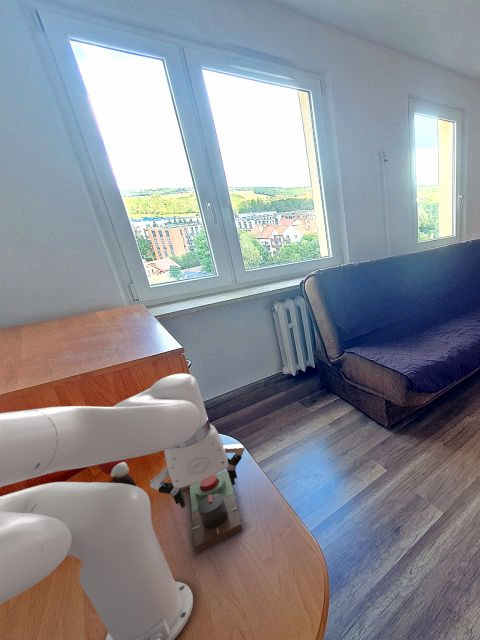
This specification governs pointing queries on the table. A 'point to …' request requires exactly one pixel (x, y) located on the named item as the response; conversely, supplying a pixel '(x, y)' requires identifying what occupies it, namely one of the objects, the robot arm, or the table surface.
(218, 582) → the table surface
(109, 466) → the strawberry
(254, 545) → the table surface
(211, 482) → the lamp switch
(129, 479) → the grandmother figurine
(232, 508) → the dimmer panel
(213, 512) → the dimmer knob
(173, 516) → the table surface
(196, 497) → the switch base
